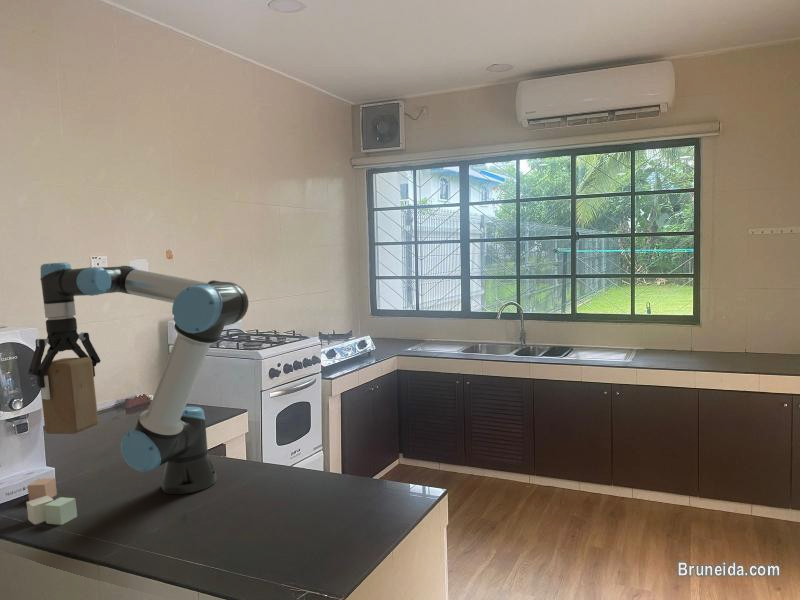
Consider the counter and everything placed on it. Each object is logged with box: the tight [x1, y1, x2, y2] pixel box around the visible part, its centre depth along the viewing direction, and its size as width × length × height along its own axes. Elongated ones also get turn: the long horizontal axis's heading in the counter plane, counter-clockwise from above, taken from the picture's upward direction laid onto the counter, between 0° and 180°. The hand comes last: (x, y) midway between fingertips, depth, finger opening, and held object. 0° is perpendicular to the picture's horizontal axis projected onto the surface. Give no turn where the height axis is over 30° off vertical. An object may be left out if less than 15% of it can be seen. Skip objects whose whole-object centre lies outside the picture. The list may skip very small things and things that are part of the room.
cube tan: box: [27, 477, 58, 501], centre depth 173 cm, size 5×5×5 cm
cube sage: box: [45, 496, 78, 526], centre depth 157 cm, size 5×5×5 cm
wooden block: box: [40, 357, 99, 435], centre depth 170 cm, size 10×10×20 cm
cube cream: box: [26, 496, 54, 525], centre depth 159 cm, size 5×5×5 cm
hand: (68, 393), depth 170 cm, fingers closed on wooden block, 12 cm apart
